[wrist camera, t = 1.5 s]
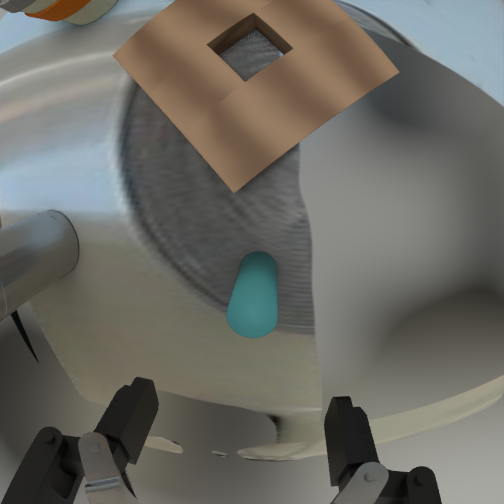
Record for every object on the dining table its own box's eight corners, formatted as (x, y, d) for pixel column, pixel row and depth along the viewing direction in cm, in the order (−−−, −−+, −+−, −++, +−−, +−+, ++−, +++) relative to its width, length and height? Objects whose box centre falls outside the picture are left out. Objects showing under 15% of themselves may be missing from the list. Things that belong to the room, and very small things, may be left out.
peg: (255, 291, 32) (248, 345, 22) (233, 265, 31) (215, 312, 22) (284, 271, 31) (287, 321, 21) (261, 244, 30) (255, 284, 21)
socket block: (239, 188, 28) (234, 193, 24) (129, 64, 24) (112, 55, 20) (384, 81, 23) (399, 72, 19) (264, -32, 19) (262, -50, 15)
